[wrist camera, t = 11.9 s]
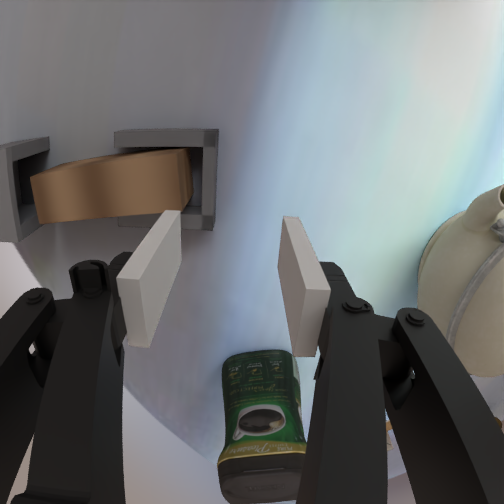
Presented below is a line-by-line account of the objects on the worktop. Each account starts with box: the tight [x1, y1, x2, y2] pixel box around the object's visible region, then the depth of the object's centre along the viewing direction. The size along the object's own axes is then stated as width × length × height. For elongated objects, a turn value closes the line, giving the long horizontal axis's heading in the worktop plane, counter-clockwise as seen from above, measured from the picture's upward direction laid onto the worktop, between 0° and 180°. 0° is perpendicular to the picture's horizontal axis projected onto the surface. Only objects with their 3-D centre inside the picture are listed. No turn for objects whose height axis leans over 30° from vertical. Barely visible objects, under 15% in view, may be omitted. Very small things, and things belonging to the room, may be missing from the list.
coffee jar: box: [217, 350, 307, 504], centre depth 31 cm, size 10×8×19 cm
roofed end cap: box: [0, 137, 50, 243], centre depth 24 cm, size 6×9×7 cm
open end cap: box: [114, 129, 219, 231], centre depth 27 cm, size 9×9×2 cm
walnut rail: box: [30, 147, 194, 224], centre depth 26 cm, size 14×4×6 cm, turn 92°
